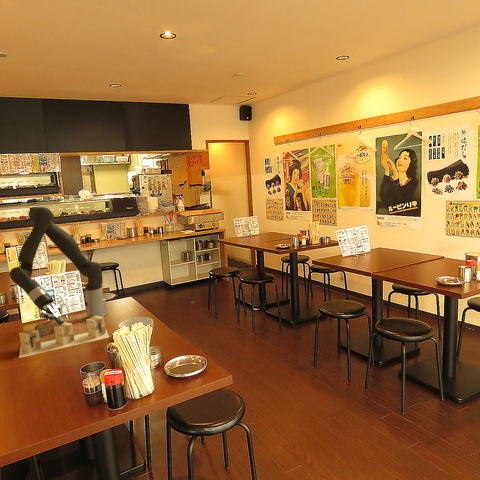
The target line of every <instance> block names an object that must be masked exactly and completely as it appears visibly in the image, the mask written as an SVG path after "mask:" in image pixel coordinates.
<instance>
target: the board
mask: <svg viewBox="0 0 480 480" xmlns="http://www.w3.org/2000/svg"><path fill="white" fill-rule="evenodd" d="M105 330H106V334H104V335H102V336H100V337H98V338H93V337H89V336H88V332H84V333H80V334H74V340H75V341H73V342H71V343H69V344H66V345H60V344H56V339H52V340H47V341H43V342H42V341H41V342H40V344H41V349H38V350H36V351H34V352H31V353H26V352H23V351H22V348H21V347H20V350H19V355H18V359H20V358H25V357H29V356H33V355H38V354H43V353H49V352H51V351H55V350H59V349H60V350H61V349H64V348H69V347H73V346H77V345H82V344H86V343H90V342H95V341H99V340H104V339H108V338H110V335H109V333H108V330H107V328H105Z"/></svg>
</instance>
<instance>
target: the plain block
mask: <svg viewBox="0 0 480 480" xmlns="http://www.w3.org/2000/svg"><path fill="white" fill-rule="evenodd" d="M54 331H55V333H54V336H55V338H54V339H55V340H56V344H60V345H66V344H69V343H71V342H73V341H75V340H74V335H75V334H74V327H73V323H71V322H66V321H64V323H63V324H61V325H60V324H58V325H56V326H54Z"/></svg>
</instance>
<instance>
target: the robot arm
mask: <svg viewBox="0 0 480 480" xmlns="http://www.w3.org/2000/svg"><path fill="white" fill-rule="evenodd" d="M28 219H29V220H30V222H31V223H32V224H33V227H32V229H31V232H30V234H29V236H27V238H26V240H25V241H24V243H23V244H22V246H21V249H20V251H19V254H18V258H17V260H18V262H20V264H19V266H16V267H12V268H11V269H10V271H9V277H10V279H11V280H12V282H13V283H15V285H17V286H18V287H19V288H21V289H22V290H23V291H24V293H25V294H26V295H27V296H28V298H29V299H30V300H31V301H32V303H33V304H34V305H35V306H36V307H37V308H38V310H40V311H41V312H40V314H39V317H40V318H43V319H47V320H52V319H54V320H56V322H57V323H58V324H60V325H61V324H63V323H64V322H65V319H64V318H63V317H62V314H63V304H57V303H56V302H54V299H53V298H52V297H51V295H50V294H49V293H48V292H47V290H46V289H44V288H43V287H42V286H41V285H40V283H39V282H38V281H36V280H35V279H33V278H31V277H32V274H33V268H34V267H33V266H34V261H35V258H36V255H37V252H38V249H39V246H40V244H41V242H42V239H43V237H44V235H45V236H47V237H48V239H49V240H50V241H51V242H52V243H53V245H55V247H56V248H57V249H58V250H59V251H60V253H62V254H63V255H64V256H65V257H66V258H67V259H69V260H70V262H71V263H72V264H73V265H74V266H75V267H76V269H77V270H78V271H79V273H80V274H81V275H82V276H83V277H86V278H87V283H86V284H85V285H84V289H85V290H84V291H85V296H86V304H87V312H88V319H89V318H91V317H94V316H101V317H104V318H105V317H106V315H108V312H107V305H106V304H107V303H106V299H105V298H104V294H103V293H104V291H103V286H102V285H103V282H104V281H103V270H102V266H101V264H100V263H98V262H96V261H90V260H89V259H87V258H86V256H84V254H83V253H82V252H81V249H80V248H81V247H80V246H79V244H78V242H77V241H76V239H74V238H73V236H72V235H70V234H69V233H68V232H66V231H65V230H64V229H62V228H61V227H59V226H58V225H57V224H56V223H54V221H53V211H52V210H51V209H49V208H48V207H43V206H35V207H32V208H30V209H29V211H28Z"/></svg>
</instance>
